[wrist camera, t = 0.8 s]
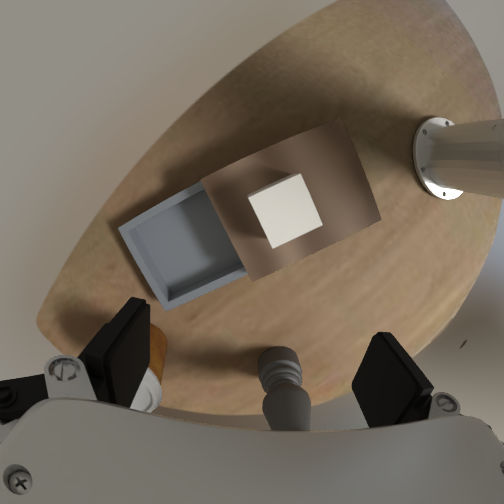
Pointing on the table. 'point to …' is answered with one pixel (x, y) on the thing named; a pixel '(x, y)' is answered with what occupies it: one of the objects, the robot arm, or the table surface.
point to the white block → (285, 209)
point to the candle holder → (284, 390)
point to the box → (182, 247)
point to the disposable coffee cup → (152, 374)
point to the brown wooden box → (317, 182)
